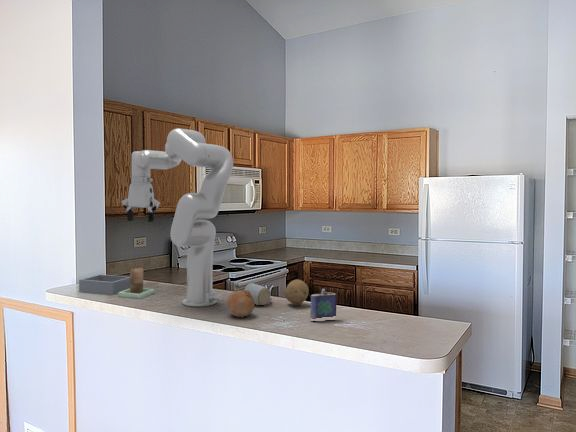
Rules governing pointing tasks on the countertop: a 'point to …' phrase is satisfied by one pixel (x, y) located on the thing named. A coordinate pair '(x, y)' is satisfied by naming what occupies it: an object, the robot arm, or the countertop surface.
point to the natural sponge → (296, 292)
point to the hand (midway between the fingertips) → (140, 221)
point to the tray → (136, 296)
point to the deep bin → (104, 284)
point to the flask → (323, 305)
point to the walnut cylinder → (136, 280)
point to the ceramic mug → (259, 293)
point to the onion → (240, 303)
